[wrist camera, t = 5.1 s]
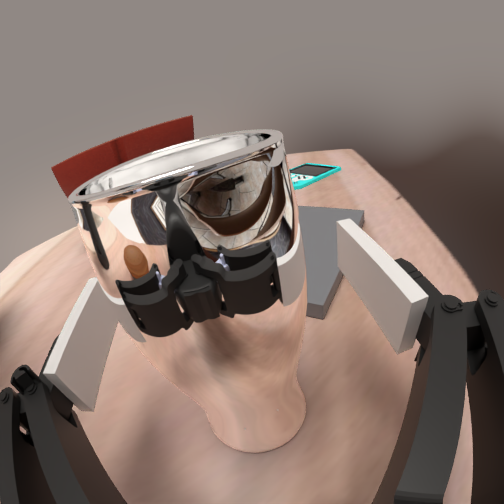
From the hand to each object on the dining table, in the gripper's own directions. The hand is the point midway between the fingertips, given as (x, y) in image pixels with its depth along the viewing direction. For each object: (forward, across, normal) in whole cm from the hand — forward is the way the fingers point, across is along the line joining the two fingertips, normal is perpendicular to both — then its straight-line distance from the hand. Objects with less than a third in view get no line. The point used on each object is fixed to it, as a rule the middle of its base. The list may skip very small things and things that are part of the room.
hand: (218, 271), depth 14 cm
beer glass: (-3, 0, -9) cm, 9 cm away
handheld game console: (+42, +16, -9) cm, 46 cm away
